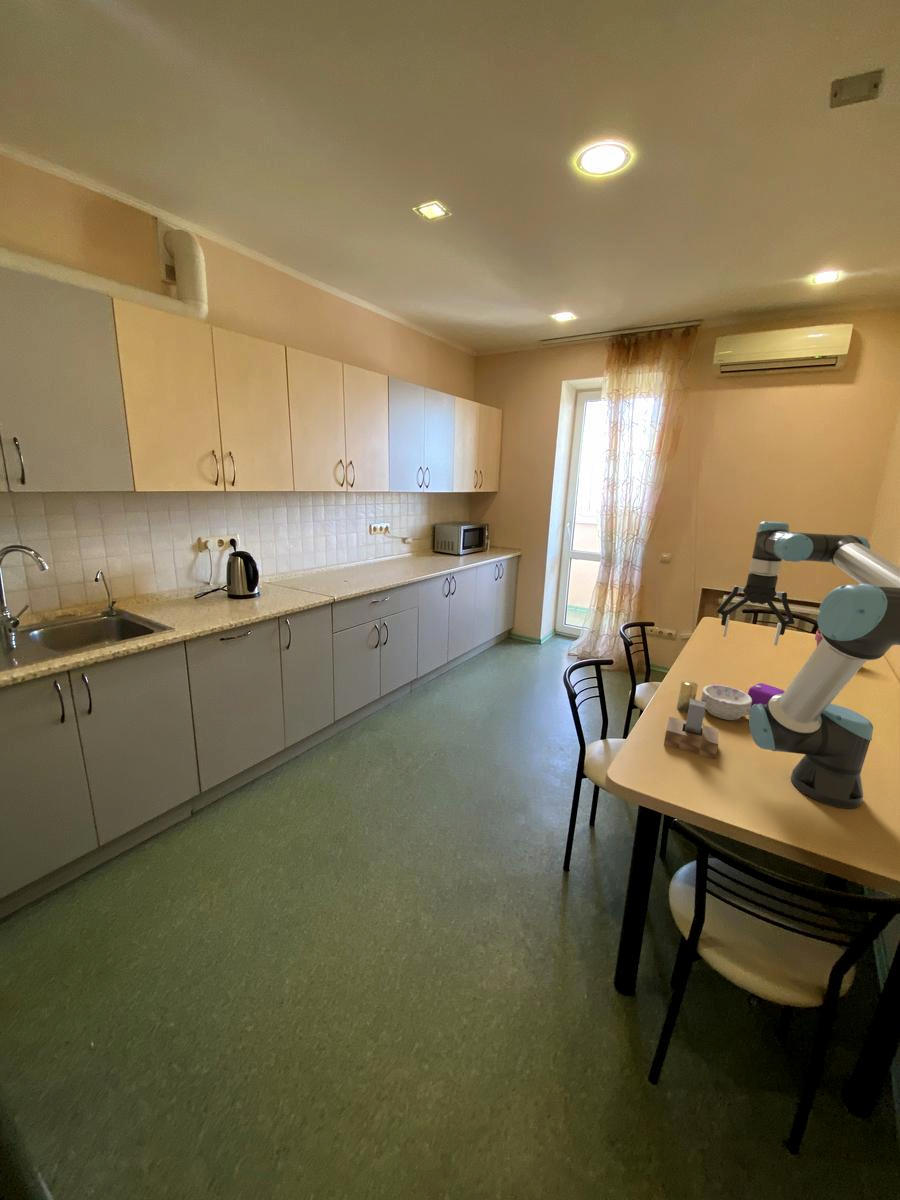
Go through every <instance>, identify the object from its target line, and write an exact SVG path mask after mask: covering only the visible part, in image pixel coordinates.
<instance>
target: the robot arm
mask: <svg viewBox="0 0 900 1200" xmlns="http://www.w3.org/2000/svg"><path fill="white" fill-rule="evenodd" d="M757 527H758V528H757V531H756V533H755V536H756V537H755V541H754V545H753V550H752V551H753V552H752V556H751V559H750V566H749V571H750V572H748V575H747V579H746V585H745V586H744V587H742V586H739V585H737V584H736V585H735V584H734V586H733V588H732V591H731V592H730V594H729V595H728V596H727V597H726V598H725V599H724V601H723V602H722V603H721V604H720V605H719V606H718V608H717V609H716V612H717V614H720V615H722V617H721V622H720V624H721V626H724V628H723V633H722V637H725V638H726V637H727V631H728V627H729V622H730V618H731V617H730V614H731V613H733V612H734V611H736V610H737V609H739V608H740V607H742V606H743V605H745V604H747V603H748V602H750V603H751V604H759V605H765V604H767V606H769V608H770V609H771V611H772V612H773V613H774V615H775V616H776V618H777V619H778V621H779V622H777V625H776V630H775V634H774V639H773V645H774V646H778V644H779V643H778V642H779V639H780V636H784V634H785V633H786V632H785V631H786V628H787V625H794V624H795V620H794V617H793V614H792V612H791V608H790V606H789V603H788V594H787V592H786V591H785V590H783V591H776V587H777V583H778V579H779V576H778V575H779V573H780V570H781V565H782V560H783V561H786V562H792V563H797V562H801V561H803V562H804V561H805V562H817V563H818V562H819V563H821V562H822V563H824V562H825V563H830V564H832V565H833V566H835V567H837V568H838V569H839V570H841V571H842V572H844V573H845V574H847V576H849V577H851V579H853V580H854V581H856V582H857V583H859V584H843V585H840V586H838V587H835V588H834V589H832V590H831V591H829V592H828V593H827V595H825V597H824V598H823V600H822V602H821V603H820V605H819V608H818V610H819V613H817V616H816V617H817V618H816V619H817V620H816V621H817V627H818V629H819V631H820V632H821V636H822V638H823V639H822V640H821V642H820V643H819V645H818V646H817V645H816V648H815V649H814V650H813V652H812V653H811V655H809V657H808V658H807V660H806V662H805V663H804V664H803V665H802V667H801V668H800V669H799V671H798V672H797V674H796V675H795V676H794V678H793V679H792V681H791V682H790V683H789V685H788V686H787V687H786V689H785V690H784V691H785V692H784V693H783V694H777V695H775V696H773V697H772V698H771V699H770V701H769V702H768V703H767V704H766V705H762V704H754V705H753V706H752V707H751V709H750V713H749V714H748V723H749V724H748V725H749V731H750V735H751V737H752V741H753V742H754V743H755V745H756V746H757V747H759V748H760V749H763V750H768V751H772V752H781V753H782V752H783V753H791V754H799V755H804V756H803V757H802V758H801V759H800V760H799V761H798V762H797V764H796V765H795V766H794V767H793V768H792V771H791V775H790V782H791V783H792V785H793V786H794V787H795V788H796V789H797V790H799V791H800V792H801V793H802V794H804V795H806V796H807V797H809V798H811V799H813V800H815V801H816V802H817V801H818V802H820V803H822V804H825V805H828V806H831V807H835V808H842V809H855V808H859V807H860V806H861V805H862V802H863V799H864V791H863V784H862V783H863V782H862V777H861V773H862V769H863V766H864V763H865V760H866V756H867V753H868V750H869V747H870V746H869V745H870V743H871V741H872V740H873V732H874V726H873V723H872V721H871V720H869V719H868V718H867V717H865V716H864V715H863V714H860V713H859V712H857V711H854V710H853V709H850V708H847V707H844V706H842V705H838V704H833V703H832V702H833V701H834V700H835V699H836V698H837V696H838V695H839V694H840V693H841V691H843V689H844V688H845V687H846V686H847V684H848V683H849V682H850V681H851V679H853V677H855V675H856V674H857V673H858V671H859V670H860V669H861V668H862V667H863V666H864V665H865V664H866V662H867V661H876V660H878V659H879V660H880V659H881V658H883V656H884V655H885V654H886V653H887V652H888V651H889V650H890V649H891V648H892V647H893V646H900V566H899V565H897V564H896V563H893V562H892V561H891V560H889V559H887V558H885V557H884V556H882V555H880V554H878V553H877V552H875V551H873V550H872V549H871V544H870V543H869V540H868V538H866V537H864V536H858V535H853V534H832V533H831V534H830V533H829V534H828V533H827V534H825V533H813V532H811V533H809V532H794V531H793V532H792V531H790V530H789V529H790V525H789V523H787V522H782V521H770V520H769V521H767V520H765V521H763V520H762V521H761V522H759V525H758V526H757ZM741 592H743V594H744V596H743V597H742V598H741V599H739V600H737V602H735V603H734V604H733V605H731V606H730V607H728V608H727V606H728V605H729V604H730V603H731V602H732V600H733V599H735V597H736V596H737V595H739V594H740V593H741ZM776 596H777V597H778V599H779V600H781V604H782V606H783V609H784V612H785V615H786V617H787V619H785V617H784V616H783V615H782V613H781V612H780V611H779V609H778V608H777V606H776V605H775V604H774V602H773V599H774V598H775V597H776Z"/></svg>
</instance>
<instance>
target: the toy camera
mask: <svg viewBox="0 0 900 1200" xmlns="http://www.w3.org/2000/svg"><path fill="white" fill-rule="evenodd" d="M747 691H748V692H747V694H748V695H749V696H750V697H751V699H752V703H751V707H752V706H753V705H754V704H762V705H766V704H767V703H768V702H769V701H770V699H771V698H772V697H773V696H775V695H777V694H783V693H784V692H785V690H783V689H782V688H781V689H780V688H779V687H778V688H777V687H775V686H772V685H769V684H767V683H762V682H758V683H756V684H754V685H753V686H750V687H749V689H748V690H747Z"/></svg>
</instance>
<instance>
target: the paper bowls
mask: <svg viewBox="0 0 900 1200" xmlns="http://www.w3.org/2000/svg"><path fill="white" fill-rule="evenodd" d="M701 691H702V692H701V696H700V701H703V702H706V705H705V710H707V712H708V713H709V714H711V715H712V717H716V718H719V719H722V720H727V721H735V720H740V718H741V717H746V716H749V713H750V709H751V703H752V699H751V697H750V696H749V695H748V693H746V692H744V691H743V690H740V689H738V688H734V687H732V686H727V685H721V684H710V685H709V684H708V685H705V686H703V688H702V690H701Z"/></svg>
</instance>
